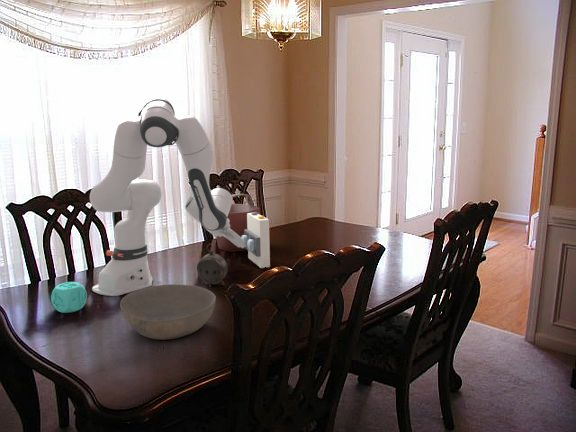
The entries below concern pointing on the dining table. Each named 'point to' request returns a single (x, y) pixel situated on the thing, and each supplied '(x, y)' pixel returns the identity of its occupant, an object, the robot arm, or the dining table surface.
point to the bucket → (237, 222)
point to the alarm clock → (212, 268)
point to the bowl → (168, 310)
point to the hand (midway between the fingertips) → (243, 246)
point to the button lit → (251, 245)
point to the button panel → (258, 239)
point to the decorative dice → (69, 297)
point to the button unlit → (245, 239)
